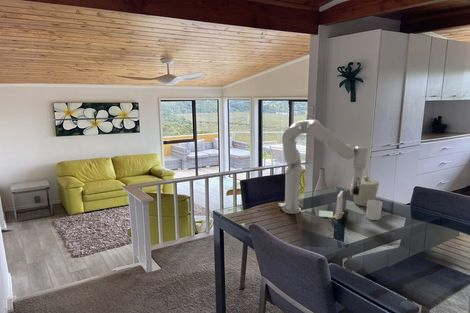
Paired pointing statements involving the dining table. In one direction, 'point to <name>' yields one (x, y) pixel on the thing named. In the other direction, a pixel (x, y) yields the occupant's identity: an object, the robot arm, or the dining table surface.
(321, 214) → the mat
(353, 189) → the letter cube
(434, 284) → the dining table surface
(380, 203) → the mug
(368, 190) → the canister
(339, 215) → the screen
